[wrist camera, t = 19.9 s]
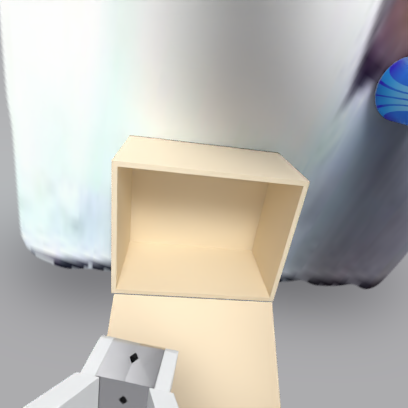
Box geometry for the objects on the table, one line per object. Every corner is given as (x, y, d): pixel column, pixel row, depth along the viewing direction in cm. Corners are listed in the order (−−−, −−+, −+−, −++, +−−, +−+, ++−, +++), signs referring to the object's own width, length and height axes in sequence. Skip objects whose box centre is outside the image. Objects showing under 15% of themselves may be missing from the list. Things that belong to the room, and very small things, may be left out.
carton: (129, 135, 41) (111, 160, 30) (278, 152, 44) (310, 181, 33) (126, 243, 49) (111, 293, 38) (253, 252, 52) (272, 302, 41)
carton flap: (91, 430, 31) (92, 429, 31) (282, 430, 33) (280, 429, 34) (114, 293, 37) (114, 294, 38) (271, 302, 40) (270, 303, 40)
